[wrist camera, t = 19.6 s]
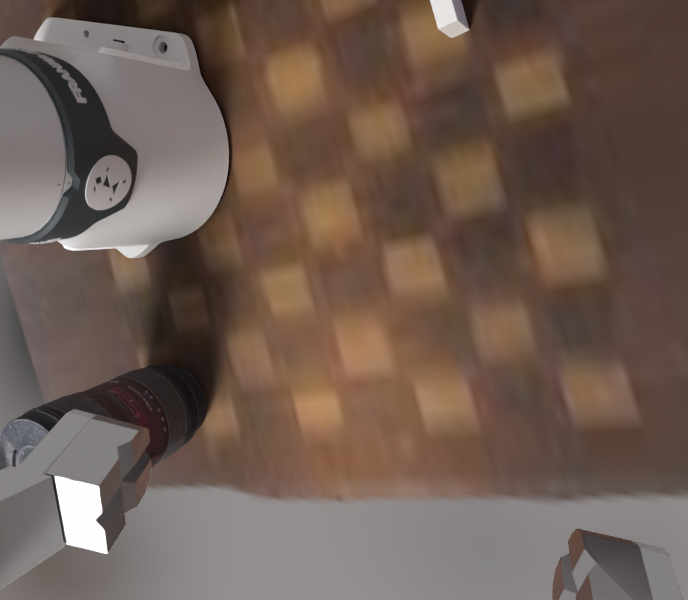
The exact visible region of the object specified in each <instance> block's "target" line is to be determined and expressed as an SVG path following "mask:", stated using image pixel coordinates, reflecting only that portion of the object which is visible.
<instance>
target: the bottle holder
mask: <svg viewBox="0 0 688 600" xmlns="http://www.w3.org/2000/svg"><path fill="white" fill-rule="evenodd" d="M430 2H431V5H432V9H433V12H434V15H435V19H436V22H437V26H438V29H439V30H440V31H442V32H443V33H445V34H446V35H448V36H449V37H451V38H453V37H456V36H458V35H460V34H462V33H464V32H467V31H469V26H468V23H467V19H466V16H465V12H464V9H463V5H462V2H461V0H430Z"/></svg>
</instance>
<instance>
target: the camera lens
mask: <svg viewBox="0 0 688 600" xmlns="http://www.w3.org/2000/svg"><path fill="white" fill-rule="evenodd" d="M74 409H76V410H80V411H84V412H88V413H92V414H96V415H101V416H105V417H108V418H112V419H116V420H120V421H124V422H127V423H131V424H135V425H139V426H142V427H145V428H147V429H149V436H150V443H149V444H148V446H147V447H146V449H145V451H146V452H147V454H148V455H149V456H150V457H151V463H152V468H153V467H154V465H155V464H157V463H159V462H160V461H162V460H164V459H165V458H167V457H169V456H171V455H172V454H174V453H175V452H176V451H177V450H178V449H179V448H180V447H182V446H183V445H184V444H186V443H187V442H188V441H189V440H190V439H191V438H192V437H193V436H194V434H195V431H197V430H198V429H199V428H200V426H201V425H202V423H203V422H204V419H205V415H206V400H205V396H204V393H203V391H202V388H201V386H200V384H199V383H198V381H197V380H196V379H195V377H194V376H193V375H192V374H191V373H189V372H188V371H187V370H185V369H183V368H182V367H180V366H176V365H162V366H156V365H155V366H148V367H145V368H142V369H138V370H133V371H130V372H128V373H125V374H123V375H121V376H118V377H116V378H114V379H112V380H110V381H108V382H106V383H103V384H101V385H98V386H96V387H93V388H91V389H88V390H86V391H84V392H79V393H75V394H72V395H68V396H64V397H61V398H59V399H57V400H54V401H52V402H49V403H47V404H44V405H42V406H39V407H37V408H34V409H31V410H29V411H28V412H26V413H25V414H23V415H22V416H21V417H19V418H17V419H15V420H12V421H11V422H9V423H8V424H7V425H6V426H5V427H4V429H3V430H2V432H1V435H0V470H2V469H4V468H7V467H9V466H13V467H18V466H19V465H20V464H21V463H22V462H23V461H24V460H25V458H26V457H27V456H28V455H29V454H30V453H31V452H32V451H33V450H34V448H35V447H36V446H37V445H38V444H39V443H40V442H41V441H42V440H43V438H44V437H45V436H46V435H47V434H48V433H49V432H50V431H51V430H52V428H53V427H54V426H55V425H56V424H57V423H58V422H59V421H60V419H61V418H62V417H63V416H64V415H65V414H66V413H68V412H70V411H72V410H74Z"/></svg>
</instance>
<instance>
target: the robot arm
mask: <svg viewBox="0 0 688 600" xmlns="http://www.w3.org/2000/svg"><path fill="white" fill-rule="evenodd" d="M166 44H167V51H166V52H165V46H166ZM228 167H229V145H228V137H227V132H226V127H225V123H224V120H223V117H222V114H221V112H220V109H219V107H218V105H217V103H216V101H215V99H214V97H213V96H212V94H211V92H210V91H209V89H208V88H207V86H206V84H205V82H204V81H203V79H202V76H201V74H200V69H199V64H198V59H197V55H196V51H195V48H194V45H193V43H192V41H191V39H190V38H189V37H188V36H187V35H185V34H182V33H175V32H167V31H159V30H151V29H143V28H136V27H128V26H120V25H112V24H104V23H96V22H89V21H81V20H73V19H65V18H56V17H50V18H47V19H46V20H45V21H44V23H43V24H42V25H41V27H40V28H39V30H38V31H37V33H36V35H35V37H34V39H33V40H32V39H27V38H22V37H17V36H12V37H10V38H9V39H7V40H6V41H5V42H4V43H3V44H2V46H1V47H0V240H3V241H5V242H9V243H16V244H24V243H29V244H42V243H51V242H54V241H58V242H59V243H61V244H63V246H64V248H65V249H68V250H94V249H111V248H116V249H118V250H119V251H120V252H121V253H122V254H123V255H125V256H126V257H128V258H141V257H143V256H145V255H147V254H148V253H149V252H150V251H152V250H153V249H154V248H155V247H156V246H157V245H158V244H159V243H162V242H165V241H168V240H173V239H178V238H181V237H184V236H186V235H189V234H190V233H192V232H194V231H195V230H197V229H198V228H199V227H201V226H202V225H203V224H204V223H205V222H206V221H207V220H208V218H209V217H210V216H211V215H212V213H213V212H214V210H215V209H216V207H217V205H218V203H219V201H220V199H221V196H222V194H223V191H224V188H225V184H226V180H227V174H228ZM149 443H150V436H149V429H147V428H145V427H142V426H139V425H135V424H131V423H127V422H124V421H120V420H116V419H112V418H108V417H105V416H101V415H96V414H92V413H88V412H84V411H80V410H76V409H74V410H72V411H70V412H68V413H66V414H65V415H64V416H63V417H62V418H61V419H60V421H59V422H58V423H57V424H56V425H55V426H54V427H53V428H52V430H51V431H50V432H49V433H48V434H47V435H46V436H45V437H44V438H43V440H42V441H41V442H40V443H39V444H38V445H37V446H36V447H35V448H34V450H33V451H32V452H31V453H30V454H29V455H28V456H27V457H26V458H25V460H24V461H23V462H22V463H21V464H20V465H19V466H18V467H13V466H9V467H7V468H4V469H2V470H0V590H1V589H2V588H3V587H5V586H7V585H8V584H10V583H11V582H13V581H14V580H16V579H17V578H19V577H20V576H22V575H23V574H25V573H26V572H28V571H29V570H31V569H32V568H34V567H35V566H36V565H38V564H39V563H41V562H42V561H44V560H45V559H47V558H48V557H50V556H51V555H53V554H54V553H56V552H57V551H59V550H60V549H62V548H63V547H64V544H68V545H72V546H76V547H80V548H85V549H89V550H93V551H98V552H103V553H106V554H107V553H109V551H110V549H111V548H112V546H113V545H114V543H115V541H116V540H117V538H118V537H119V535H120V533H121V532H122V530H123V529H124V527H125V525H126V521H125V513H126V512H128V511H129V510H131V509H133V508H135V507H137V505H138V504H139V503H140V501H141V499H142V497H143V495H144V494H145V492H146V489H147V486H148V483H149V481H150V476H151V469H152V463H151V457H150V456H149V455H148V454H147V452H146V451H145V449H146V447H147V446H148V444H149ZM568 544H569V554H567V555H565V556H563V557H561V558H560V560H559V562H558V565H557V567H556V569H555V574H554V580H553V589H552V599H553V600H683V598H682V595H681V591H680V588H679V585H678V581H677V578H676V575H675V572H674V568H673V566H672V562H671V559H670V555H669V554H668V552H667V551H666V550H665V549H664V548H660V547H655V546H651V545H647V544H642V543H638V542H633V541H630V540H625V539H621V538H617V537H613V536H608V535H604V534H599V533H595V532H590V531H585V530H581V529H576V530H575V531H574V532H573V533H572V535H571V537H570V539H569V541H568Z"/></svg>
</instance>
